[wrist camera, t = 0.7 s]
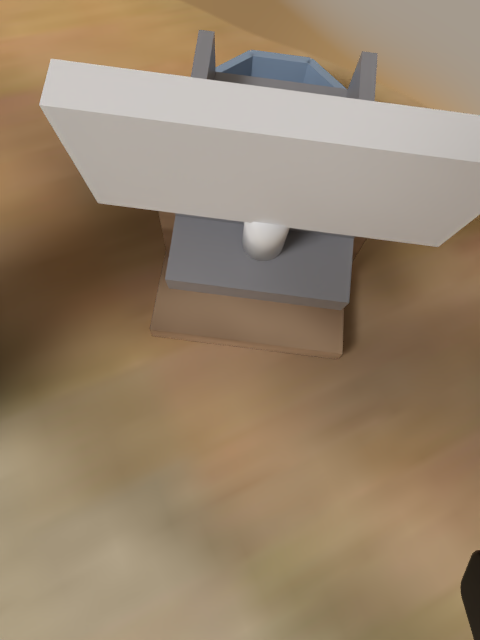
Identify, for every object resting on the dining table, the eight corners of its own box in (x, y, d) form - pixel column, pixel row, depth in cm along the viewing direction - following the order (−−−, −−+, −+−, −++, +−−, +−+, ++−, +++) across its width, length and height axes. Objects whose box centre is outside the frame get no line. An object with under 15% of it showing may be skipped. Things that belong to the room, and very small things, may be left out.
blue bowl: (333, 224, 26) (351, 183, 23) (186, 205, 26) (182, 161, 23) (338, 114, 30) (354, 63, 26) (207, 97, 30) (206, 44, 26)
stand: (344, 360, 23) (395, 309, 17) (144, 334, 23) (117, 274, 17) (348, 233, 26) (392, 148, 20) (170, 210, 26) (156, 118, 20)
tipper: (389, 316, 18) (538, 229, 9) (119, 281, 17) (24, 161, 9) (399, 109, 20) (528, -114, 11) (158, 77, 20) (109, -171, 11)
